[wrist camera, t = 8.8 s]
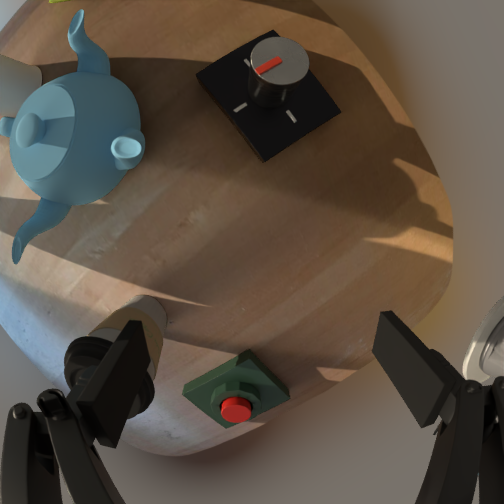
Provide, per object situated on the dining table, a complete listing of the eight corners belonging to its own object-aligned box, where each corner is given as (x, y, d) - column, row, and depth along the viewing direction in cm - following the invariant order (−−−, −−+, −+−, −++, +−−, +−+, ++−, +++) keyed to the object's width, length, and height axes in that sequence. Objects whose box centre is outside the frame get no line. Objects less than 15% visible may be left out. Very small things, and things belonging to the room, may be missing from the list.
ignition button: (256, 407, 34) (257, 415, 33) (233, 417, 35) (233, 426, 33) (238, 392, 34) (238, 401, 32) (215, 403, 34) (215, 412, 32)
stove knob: (273, 63, 24) (285, 26, 16) (300, 94, 25) (322, 67, 17) (239, 84, 24) (238, 51, 16) (265, 116, 25) (275, 93, 17)
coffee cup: (193, 310, 34) (167, 393, 19) (159, 355, 36) (129, 436, 21) (131, 267, 32) (68, 327, 18) (103, 318, 34) (50, 385, 19)
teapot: (184, 155, 29) (149, 145, 17) (70, 238, 31) (10, 267, 19) (125, 49, 24) (79, 6, 13) (25, 136, 26) (-36, 134, 14)
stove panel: (333, 117, 28) (342, 111, 25) (262, 163, 29) (265, 162, 26) (270, 40, 25) (273, 28, 22) (199, 83, 27) (194, 73, 24)
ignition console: (288, 389, 38) (292, 407, 34) (226, 419, 40) (225, 437, 36) (249, 348, 36) (250, 367, 32) (184, 384, 37) (180, 403, 33)
